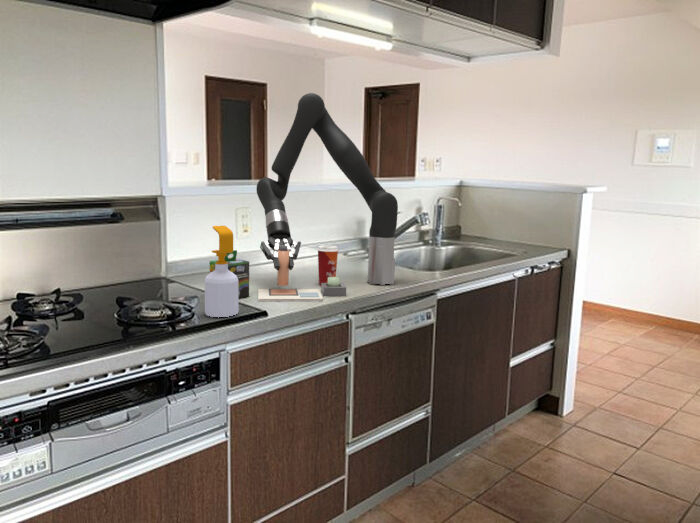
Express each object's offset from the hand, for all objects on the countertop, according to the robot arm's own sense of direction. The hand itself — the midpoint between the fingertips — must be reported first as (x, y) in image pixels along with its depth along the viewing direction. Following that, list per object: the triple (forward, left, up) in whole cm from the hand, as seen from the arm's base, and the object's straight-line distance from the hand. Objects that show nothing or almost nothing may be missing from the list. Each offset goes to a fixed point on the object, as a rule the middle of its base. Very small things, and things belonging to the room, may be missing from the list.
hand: (284, 268), depth 182 cm
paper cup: (-16, -17, -9) cm, 25 cm away
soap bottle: (+18, +22, -9) cm, 30 cm away
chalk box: (+17, 0, -9) cm, 20 cm away
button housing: (-16, -3, -9) cm, 19 cm away
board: (-2, 0, -9) cm, 9 cm away
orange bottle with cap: (0, -2, -6) cm, 6 cm away
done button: (-16, -3, -8) cm, 18 cm away
